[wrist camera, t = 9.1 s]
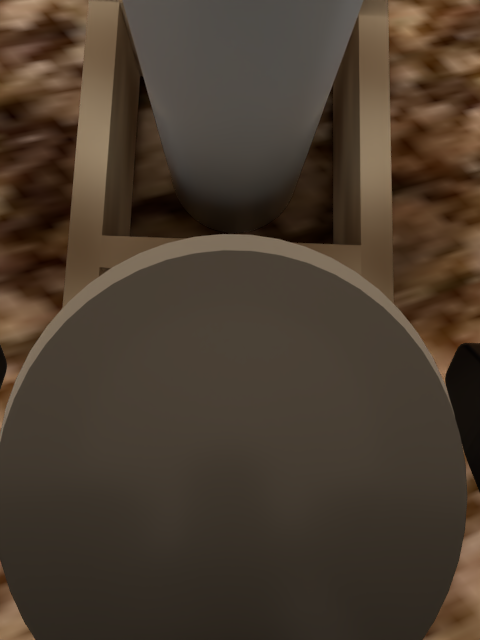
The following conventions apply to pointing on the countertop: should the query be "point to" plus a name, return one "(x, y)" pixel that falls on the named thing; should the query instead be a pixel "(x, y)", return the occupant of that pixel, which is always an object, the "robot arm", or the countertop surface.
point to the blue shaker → (238, 96)
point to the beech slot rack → (120, 142)
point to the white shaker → (230, 456)
